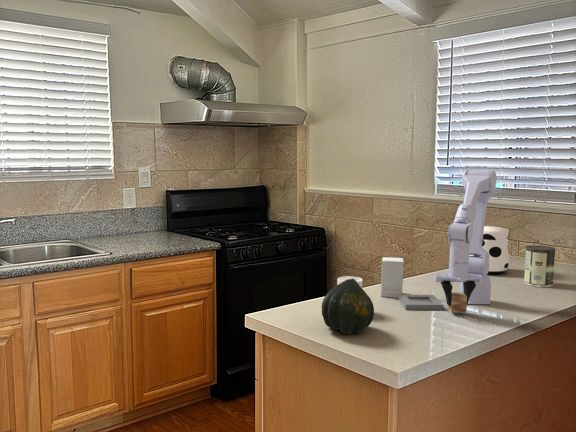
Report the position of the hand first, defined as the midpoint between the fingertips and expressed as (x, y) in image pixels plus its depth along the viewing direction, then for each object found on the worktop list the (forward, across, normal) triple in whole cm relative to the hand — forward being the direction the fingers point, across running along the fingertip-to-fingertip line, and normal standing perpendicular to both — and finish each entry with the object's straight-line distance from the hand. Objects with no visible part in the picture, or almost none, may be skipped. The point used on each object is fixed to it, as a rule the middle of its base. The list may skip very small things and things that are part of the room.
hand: (456, 304), depth 178 cm
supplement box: (+3, -16, +22) cm, 27 cm away
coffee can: (+3, +43, +39) cm, 58 cm away
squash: (+3, -36, -16) cm, 40 cm away
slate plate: (+3, -9, +10) cm, 14 cm away
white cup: (+3, -33, +3) cm, 33 cm away
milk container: (+4, +31, +60) cm, 68 cm away
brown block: (+2, 0, 0) cm, 2 cm away
